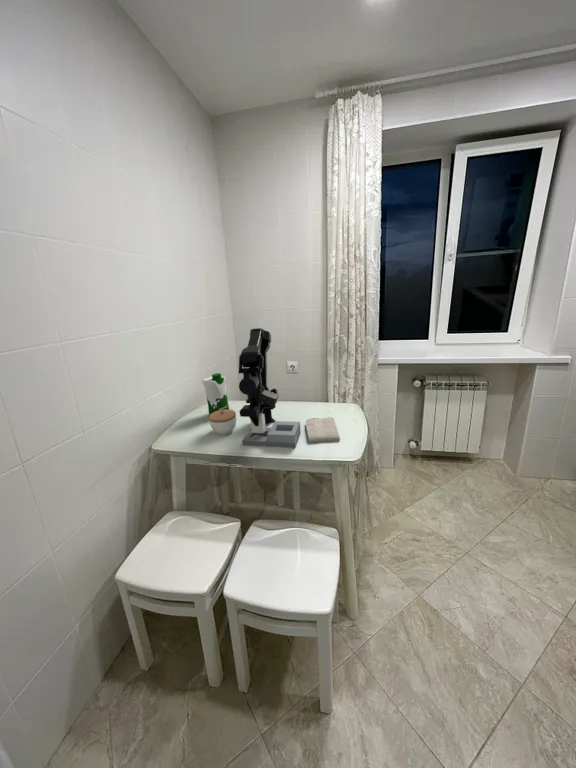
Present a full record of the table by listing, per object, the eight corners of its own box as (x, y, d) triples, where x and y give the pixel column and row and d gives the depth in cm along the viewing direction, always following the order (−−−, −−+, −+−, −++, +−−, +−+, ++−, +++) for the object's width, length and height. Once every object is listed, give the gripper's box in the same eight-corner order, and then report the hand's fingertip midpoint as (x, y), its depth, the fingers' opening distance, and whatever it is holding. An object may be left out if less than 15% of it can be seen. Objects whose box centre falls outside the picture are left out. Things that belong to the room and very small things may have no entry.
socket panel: (242, 445, 109) (241, 433, 107) (252, 431, 119) (250, 420, 118) (295, 447, 104) (294, 435, 103) (300, 433, 115) (299, 421, 113)
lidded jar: (236, 436, 116) (233, 414, 113) (209, 439, 116) (205, 417, 113) (239, 424, 126) (236, 404, 123) (214, 427, 126) (210, 407, 123)
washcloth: (333, 421, 124) (333, 414, 123) (341, 442, 107) (341, 434, 106) (305, 423, 124) (304, 416, 123) (308, 444, 107) (308, 437, 106)
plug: (252, 432, 111) (250, 415, 109) (254, 429, 114) (252, 411, 112) (263, 433, 110) (261, 415, 108) (265, 429, 113) (264, 412, 111)
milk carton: (218, 420, 132) (212, 377, 126) (205, 416, 138) (198, 375, 131) (233, 413, 139) (227, 372, 133) (220, 409, 144) (214, 370, 138)
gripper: (268, 394, 96) (272, 436, 101) (281, 377, 113) (284, 414, 118) (236, 394, 98) (242, 435, 103) (253, 377, 116) (258, 413, 120)
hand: (258, 424), depth 111 cm, fingers closed on plug, 3 cm apart
